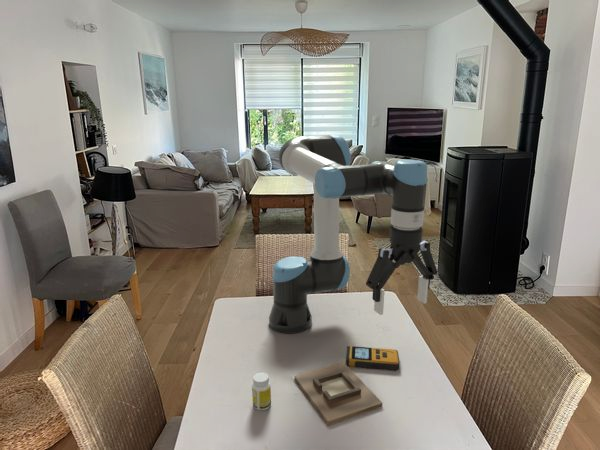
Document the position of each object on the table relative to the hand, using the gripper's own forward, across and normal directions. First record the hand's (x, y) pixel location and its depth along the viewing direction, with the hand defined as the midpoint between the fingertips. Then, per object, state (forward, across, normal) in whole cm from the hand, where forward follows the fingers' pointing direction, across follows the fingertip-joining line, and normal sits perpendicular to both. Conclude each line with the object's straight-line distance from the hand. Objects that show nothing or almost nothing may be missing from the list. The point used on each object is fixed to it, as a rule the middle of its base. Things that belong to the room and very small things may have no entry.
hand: (400, 306), depth 111 cm
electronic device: (+27, +4, +16) cm, 31 cm away
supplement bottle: (+27, -33, +12) cm, 44 cm away
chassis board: (+26, -13, +8) cm, 31 cm away
